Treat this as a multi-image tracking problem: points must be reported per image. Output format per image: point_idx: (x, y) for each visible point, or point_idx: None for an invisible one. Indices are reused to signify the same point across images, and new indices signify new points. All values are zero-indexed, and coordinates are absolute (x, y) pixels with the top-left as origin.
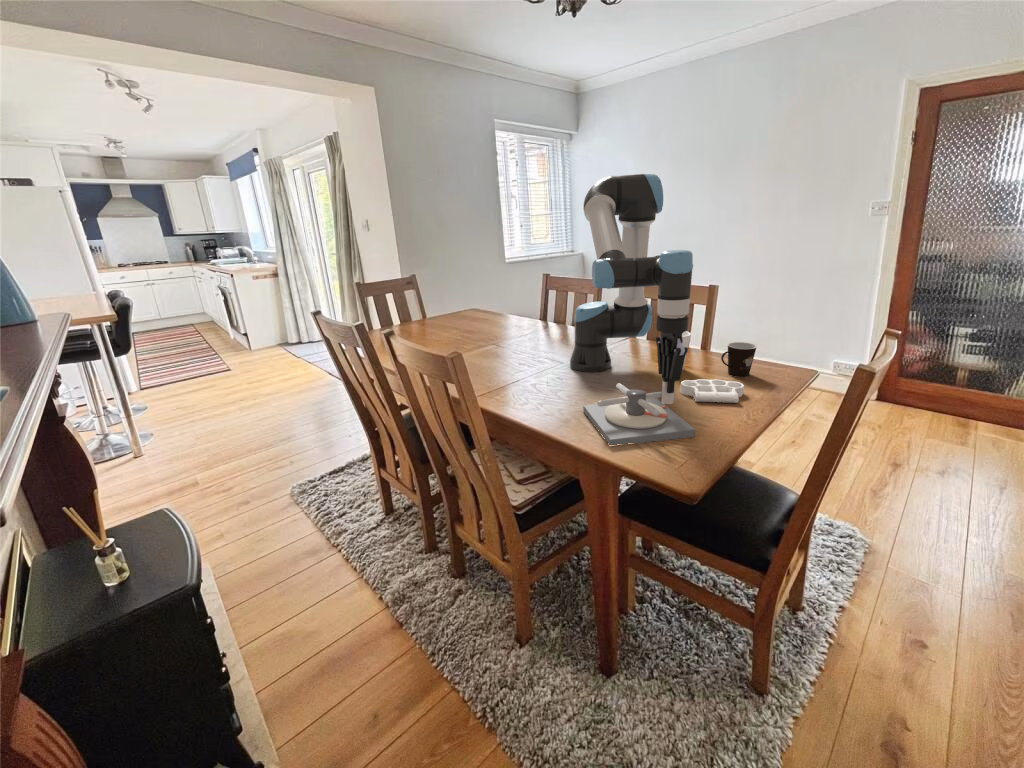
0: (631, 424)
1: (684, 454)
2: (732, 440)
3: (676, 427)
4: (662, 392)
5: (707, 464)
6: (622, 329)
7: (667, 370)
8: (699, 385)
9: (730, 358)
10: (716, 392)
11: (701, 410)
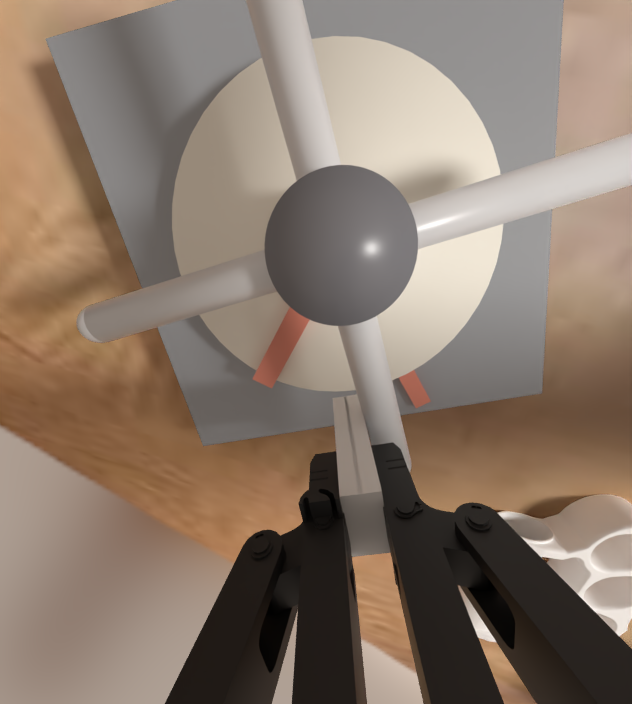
0: (175, 189)
1: (79, 364)
2: (196, 513)
3: (216, 391)
4: (359, 428)
5: (29, 409)
6: None
7: (319, 612)
8: (589, 574)
9: None
10: None
11: None
